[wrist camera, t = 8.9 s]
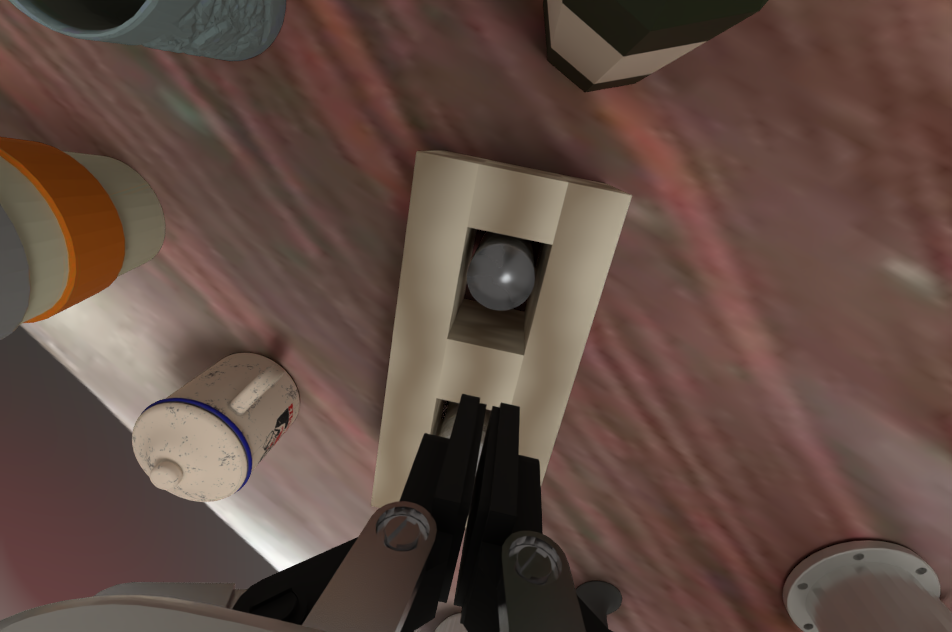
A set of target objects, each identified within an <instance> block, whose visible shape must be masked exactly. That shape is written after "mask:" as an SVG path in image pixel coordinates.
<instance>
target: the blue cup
mask: <svg viewBox="0 0 952 632" xmlns="http://www.w3.org/2000/svg"><path fill="white" fill-rule="evenodd" d="M9 1H10V2H11V3H12V4H13V5H14V6H15V7H17V8H18V9H19V10H20V11H22V12H23V13H25V14H26V15H27V16H29V17H30V18H31V19H33V20H35V21H37V22H38V23H40V24H42V25H44V26H46V27H48V28H50V29H52V30H54V31H56V32H59V33H62V34H65V35H68V36H71V37H74V38H78V39H86V40H94V41H102V42H110V43H120V44H126V45H140V44H141V45H143V46H145V47H149V48H154V49H159V50H164V51H172V52H176V53H182V52H184V53H186V54H189V55H196V56H205V57H209V58H214V59H221V60H227V61H241V60H246V59H249V58H252V57H255V56H257V55H259V54H261V53H262V52H263V51H265V50H266V49H267V48H268V47H269V46H270V45H271V44H272V43H273V42H274V40H275V38H276V37H277V35H278V33H279V31H280V29H281V27H282V24H283V20H284V16H285V11H286V0H9Z"/></svg>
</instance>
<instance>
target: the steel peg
mask: <svg viewBox="0 0 952 632" xmlns="http://www.w3.org/2000/svg"><path fill="white" fill-rule="evenodd" d="M458 407H459V403H456V402H452V401H449V405H448V408H447V411H446V414H445V418H444V421H443V424H442V428H441V431H440V434H439V436H440V437H445V438H449V439H450V436H451V433H452V429H453V425H454V421H455V418H456V414H457V410H458ZM490 414H491V410H488V409H486V413H485V419H484V425H483V431H482V437H481V444H480V450H479V456H478V462H477V467H478V463H479V459H480V455H481V451H482V447H483V443H484V438H485V434H486V430H487V426H488V422H489V418H490ZM476 471H477V469H476ZM475 476H476V475H475Z"/></svg>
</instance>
